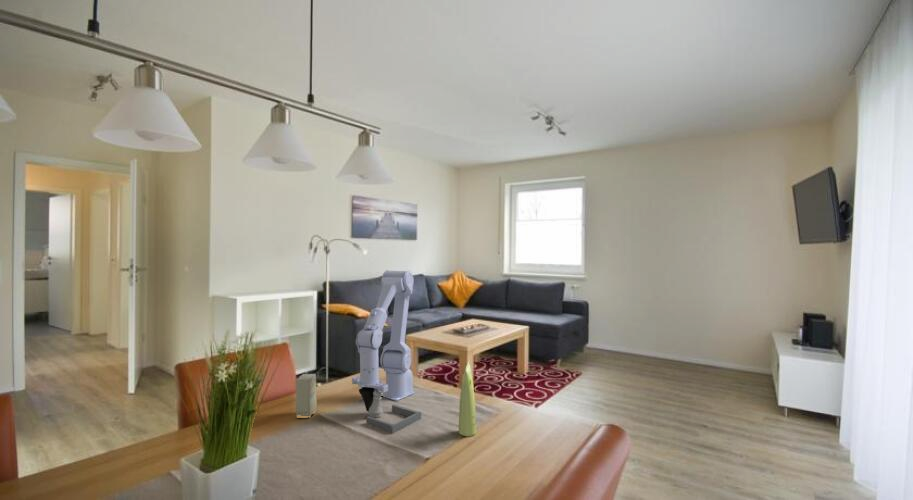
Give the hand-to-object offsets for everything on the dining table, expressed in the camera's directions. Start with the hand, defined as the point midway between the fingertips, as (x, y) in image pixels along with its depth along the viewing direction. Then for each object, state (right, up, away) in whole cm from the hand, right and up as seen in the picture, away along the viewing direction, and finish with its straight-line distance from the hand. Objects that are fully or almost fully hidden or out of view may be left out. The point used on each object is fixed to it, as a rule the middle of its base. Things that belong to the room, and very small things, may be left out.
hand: (369, 410), depth 133 cm
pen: (+8, -1, -6) cm, 10 cm away
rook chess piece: (+2, -1, -2) cm, 3 cm away
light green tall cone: (+30, -1, -14) cm, 34 cm away
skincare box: (-20, -2, 0) cm, 20 cm away
